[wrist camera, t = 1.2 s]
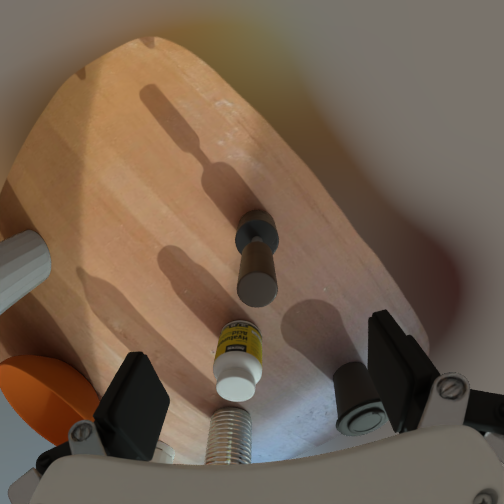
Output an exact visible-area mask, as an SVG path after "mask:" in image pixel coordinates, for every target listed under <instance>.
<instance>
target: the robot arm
mask: <svg viewBox="0 0 504 504" xmlns="http://www.w3.org/2000/svg"><path fill="white" fill-rule="evenodd" d="M368 372H369V375H370V377H371V379H372V382H373V384H374V386H375V388H376V390H377V393H378V395H379V397H380V400H381V402H382V404H383V407H384V409H385V411H386V414H387V416H388V418H389V421H390V423H391V425H392V428H393V430H394V432H395V433H396V432H399V434H398V435H395V436H391V437H388V438H384V439H381V440H378V441H374V442H371V443H367V444H363V445H360V446H356V447H352V448H347V449H344V450H339V451H335V452H330V453H326V454H320V455H315V456H309V457H303V458H297V459H291V460H283V461H274V462H265V463H253V464H237V465H184V464H167V463H156V462H149V461H151V460H152V458H153V455H154V452H155V449H156V445H157V442H158V439H159V435H160V432H161V429H162V426H163V423H164V420H165V416H166V413H167V410H168V407H169V404H170V398H169V395H168V394H167V392H166V390H165V388H164V387H163V385H162V383H161V381H160V379H159V377H158V376H157V374H156V372H155V370H154V368H153V366H152V364H151V362H150V360H149V358H148V357H147V355H145V354H143V352H129V353H128V354H127V356H126V358H125V360H124V361H123V363H122V365H121V366H120V368H119V370H118V371H117V373H116V375H115V377H114V378H113V380H112V382H111V384H110V385H109V387H108V389H107V391H106V392H105V394H104V396H103V398H102V400H101V401H100V403H99V405H98V407H97V409H96V410H95V412H94V414H93V418H94V419H95V420H94V422H92V421H90V420H81V421H78V422H76V423H75V424H74V425H73V426H72V427H71V428H70V430H69V432H68V441H66V442H64V443H62V444H60V445H58V446H56V447H54V448H52V449H50V450H48V451H46V452H44V453H42V454H41V455H40V456H39V457H38V459H37V461H36V469H35V468H31V469H30V470H29V471H28V472H26V473H25V474H24V475H23V476H21V477H20V478H19V479H18V480H17V481H15V482H14V483H13V484H12V485H11V486H10V487H9V489H8V497H9V499H10V501H11V503H12V504H504V468H503V466H502V464H501V462H502V463H503V464H504V395H501V394H495V393H489V392H483V391H478V390H472V389H470V384H469V381H468V380H467V378H466V377H465V376H463V375H461V374H459V373H455V372H449V373H444V374H442V375H440V373H439V372H438V370H437V369H436V367H435V366H434V365H433V363H432V362H431V361H430V359H429V358H428V356H427V355H426V354H425V352H424V351H423V350H422V348H421V347H420V345H419V344H418V343H417V341H416V340H415V339H414V338H413V337H412V336H411V335H407V336H406V334H405V333H404V332H403V330H402V329H401V328H400V326H399V325H398V324H397V322H396V321H395V320H394V318H393V317H392V316H391V315H390V313H389V312H388V311H387V310H382V311H378V312H374V313H373V314H372V317H369V319H368ZM475 496H476V497H475Z"/></svg>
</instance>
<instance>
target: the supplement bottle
mask: <svg viewBox="0 0 504 504" xmlns="http://www.w3.org/2000/svg"><path fill="white" fill-rule="evenodd" d="M213 373H214V376H215V378H216V379H217V384H216V390H217V392H218V394H219V395H220V396H221V397H223V398H224V399H226V400H229V401H234V402H240V401H245V400H248V399H250V398H251V397H252V396H253V395H254V393H255V385H256V383H257V382H258V381H259V380H260V378H261V375H262V335H261V332H260V330H259V329H258V328H257V327H256V326H255V325H254V324H252V323H250V322H248V321H243V320H237V321H233V322H230V323H228V324H227V325H225V326H224V327H223V329H222V330H221V333H220V337H219V341H218V346H217V351H216V355H215V360H214V365H213Z"/></svg>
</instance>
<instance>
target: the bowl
mask: <svg viewBox="0 0 504 504" xmlns="http://www.w3.org/2000/svg"><path fill="white" fill-rule="evenodd" d="M0 388H1V390H2V392H3V394H4V396H5V397H6V399H7V400H8V402H9V403H10V405H11V406H12V407H13V409H14V410H15V411H16V412H17V414H19V416H20V417H21V418H22V419H23V420H24V421H25V422H26V423H27V424H28V425H29V426H30V427H31V428H32V429H34V430H35V431H36V432H37V433H38V434H40V435H41V436H42V437H44V438H45V439H47V440H48V441H49V442H51V443H52V444H54V445H55V446H58V445H60V444H62V443H64V442H66V441H68V432H69V430H70V428H71V427H72V426H73V425H74V424H75V423H76V422H78V421H81V420H90V421H92V422H94V420H95V419H94V418H93V414H94V412H95V410H96V409H97V407H98V405H99V403H100V401H99V399H98V396H97V394H96V392H95V390H94V388H93V387H92V385H91V384H90V383H89V382H88V380H87V379H86V378H85V377H84V376H83V375H82V374H80V373H79V372H78V371H77V370H76V369H74V368H73V367H72V366H70V365H69V364H67V363H65V362H63V361H61V360H59V359H55V358H48V357H43V356H37V355H18V356H14V357H10V358H8V359H6V360H4V361H3V362H1V363H0Z"/></svg>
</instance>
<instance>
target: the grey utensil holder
mask: <svg viewBox="0 0 504 504" xmlns="http://www.w3.org/2000/svg"><path fill="white" fill-rule="evenodd" d="M50 271H51V257H50V253H49V250H48V248H47V245H46V243H45V242H44V240H43V239H42V238H41V236H40V235H39V234H37V233H36V232H34V231H32V230H25V231H23V232H20V233H18V234H16V235H13V236H11V237H9V238H7V239H5V240H3V241H1V242H0V315H1V314H2V313H3V312H4V311H6V310H7V309H8V308H9V307H11V306H12V305H13V304H14V303H16V302H17V301H18V300H20V299H21V298H22V297H23V296H25V295H26V294H27V293H29V292H30V291H31V290H33V289H34V288H35V287H37V286H38V285H39V284H41V283H42V282H44V281H45V280H46V279H47V278H48V276H49V274H50Z"/></svg>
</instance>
